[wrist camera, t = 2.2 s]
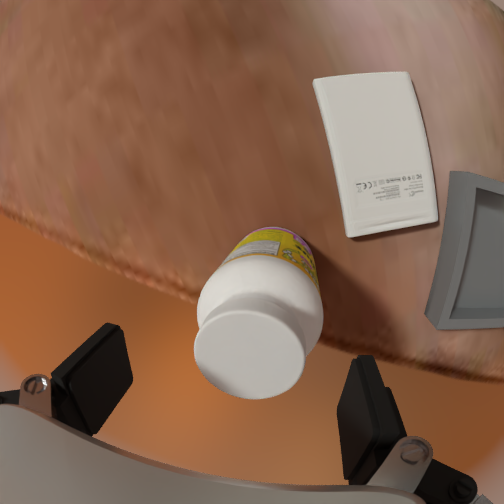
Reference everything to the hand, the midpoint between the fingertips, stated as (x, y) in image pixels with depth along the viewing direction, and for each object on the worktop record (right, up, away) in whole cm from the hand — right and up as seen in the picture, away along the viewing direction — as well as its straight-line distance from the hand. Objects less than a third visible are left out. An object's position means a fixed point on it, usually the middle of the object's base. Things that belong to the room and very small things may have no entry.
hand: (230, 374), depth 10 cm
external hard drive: (+11, +13, +10) cm, 20 cm away
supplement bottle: (+3, +4, +13) cm, 14 cm away
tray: (+23, +5, +9) cm, 26 cm away
